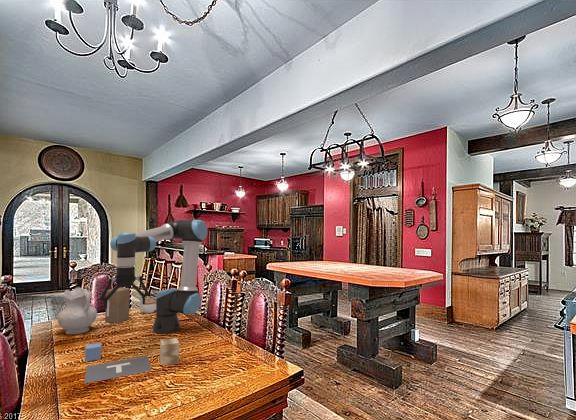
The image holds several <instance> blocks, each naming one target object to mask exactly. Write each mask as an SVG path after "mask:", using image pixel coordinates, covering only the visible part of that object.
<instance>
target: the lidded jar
mask: <svg viewBox="0 0 576 420" xmlns="http://www.w3.org/2000/svg"><path fill="white" fill-rule="evenodd" d="M155 311H156V299H151V298H148V299H145V304H142V313H143V314H153V313H154V312H155Z"/></svg>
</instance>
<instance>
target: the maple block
mask: <svg viewBox="0 0 576 420" xmlns="http://www.w3.org/2000/svg"><path fill="white" fill-rule="evenodd" d="M159 343H160V344H159V345H160V346H159V361H160V364H161V365H162V366H165V365H166V366H167V365H177V364H178V365H179V364H180V341H179V339H178V338H177V337H174V338H170V339H169V338H167V339H162V340H160V341H159Z"/></svg>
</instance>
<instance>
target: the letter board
mask: <svg viewBox="0 0 576 420" xmlns="http://www.w3.org/2000/svg"><path fill="white" fill-rule="evenodd" d="M152 371H153V370H152V367H151V364H150V360H149V357H148V355H146V356H145V355H144V356H140V357H139V356H138V357H133V358H126V359H120V360H116V361H110V362H105V363H98V364H97V363H96V364H92V365H86V369H85V375H84V380H83V382H84V383H83V384H88V383H93V382H99V381H104V380H110V379H115V378H119V377H120V378H121V377H125V376H131V375H136V374H137V375H138V374H141V373H147V372H152Z"/></svg>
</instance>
